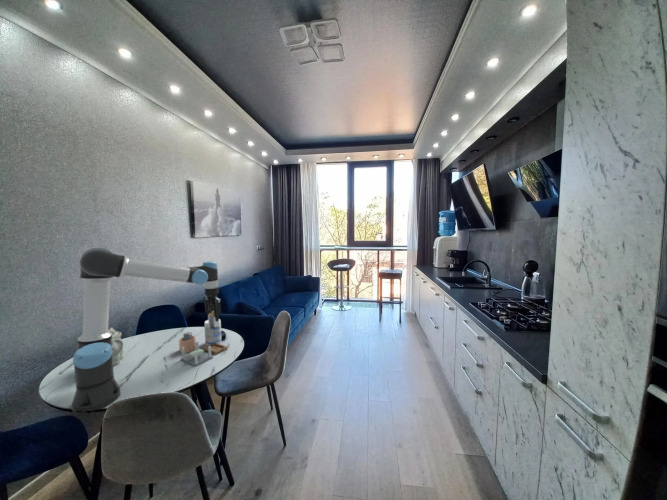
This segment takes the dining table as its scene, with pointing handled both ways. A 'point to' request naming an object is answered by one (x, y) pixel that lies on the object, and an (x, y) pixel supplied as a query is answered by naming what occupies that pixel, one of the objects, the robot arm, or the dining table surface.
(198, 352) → the checker pad
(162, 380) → the dining table surface
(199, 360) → the checker cradle
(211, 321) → the cell
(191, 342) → the orange canister
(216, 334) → the supplement tub
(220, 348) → the brown wooden tray
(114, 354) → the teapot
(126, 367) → the dining table surface
